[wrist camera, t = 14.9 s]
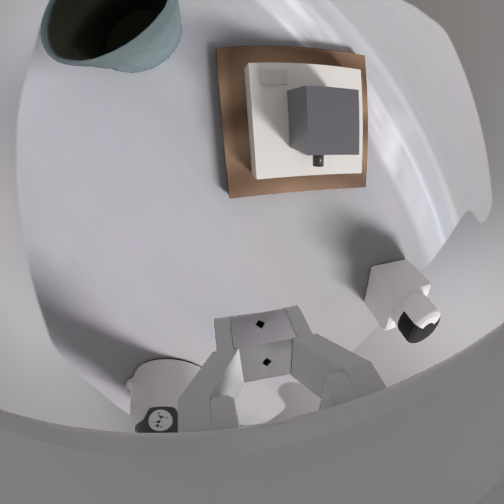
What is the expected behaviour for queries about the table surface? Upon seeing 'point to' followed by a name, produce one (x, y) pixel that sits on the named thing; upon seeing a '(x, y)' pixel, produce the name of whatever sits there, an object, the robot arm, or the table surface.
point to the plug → (323, 121)
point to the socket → (277, 123)
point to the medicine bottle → (401, 300)
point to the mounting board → (236, 118)
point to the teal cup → (111, 32)
